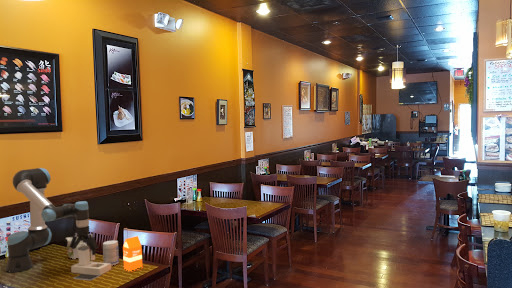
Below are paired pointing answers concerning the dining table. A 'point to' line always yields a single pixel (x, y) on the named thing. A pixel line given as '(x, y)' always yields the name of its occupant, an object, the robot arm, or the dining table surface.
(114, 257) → the supplement tub
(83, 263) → the white cylinder
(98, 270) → the white flat tray
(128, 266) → the orange juice
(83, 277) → the phone
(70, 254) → the pitcher
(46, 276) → the dining table surface
